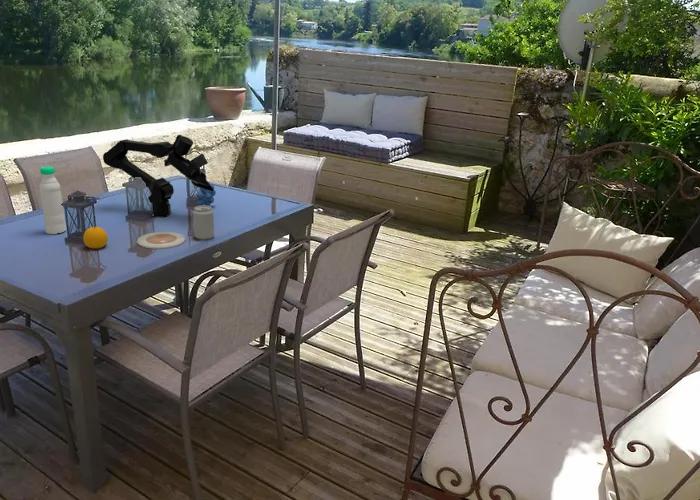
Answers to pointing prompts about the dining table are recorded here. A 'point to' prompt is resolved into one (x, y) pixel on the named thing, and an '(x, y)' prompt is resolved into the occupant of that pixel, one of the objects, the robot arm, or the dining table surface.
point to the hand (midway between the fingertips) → (211, 187)
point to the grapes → (205, 196)
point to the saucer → (161, 240)
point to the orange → (95, 237)
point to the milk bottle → (51, 202)
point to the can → (203, 222)
